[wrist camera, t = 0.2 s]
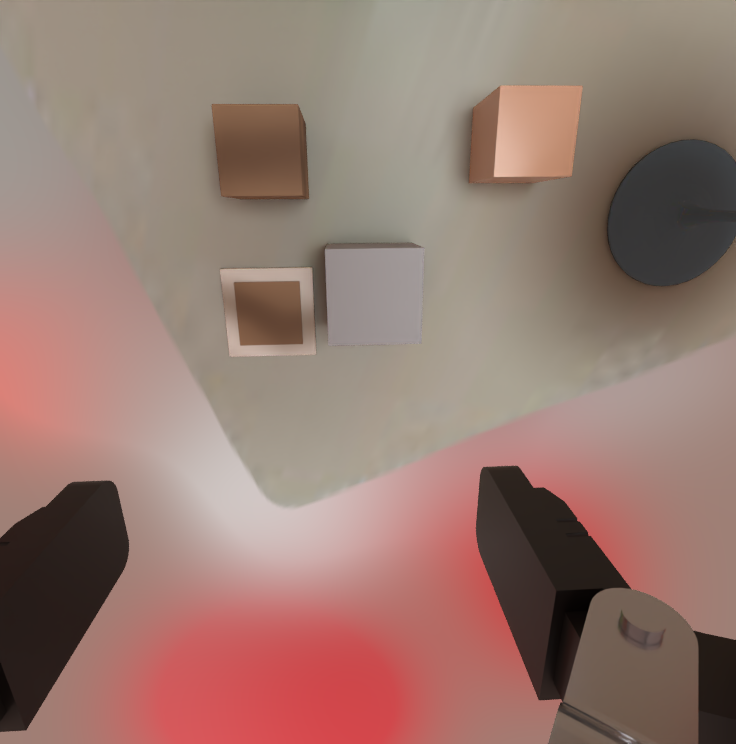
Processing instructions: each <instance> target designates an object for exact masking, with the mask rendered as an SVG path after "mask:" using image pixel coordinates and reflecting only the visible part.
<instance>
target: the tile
mask: <svg viewBox="0 0 736 744" xmlns="http://www.w3.org/2000/svg"><path fill="white" fill-rule="evenodd" d="M220 274H221V283H222V292H223V301H224V310H225V319H226V328H227V337H228V346H229V355H230V357H241V356H283V355H316V335H315V314H314V293H313V272H312V267H293V268H226V269H220Z"/></svg>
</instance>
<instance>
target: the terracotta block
mask: <svg viewBox="0 0 736 744" xmlns="http://www.w3.org/2000/svg"><path fill="white" fill-rule="evenodd" d="M582 88H583V86H499V87H498V88H497V89H496V90H494V91H493V92H492V93H491V94H490V95H488V96H487V97H486V98H485V99H483V100H482V101H481V102H480V103H479V104H477V105H476V106H475V107H474V108H473V120H472V138H471V155H470V173H469V183H536V182H542V181H548V180H554V179H559V178H565V177H571V176H572V169H573V160H574V152H575V144H576V136H577V128H578V120H579V112H580V104H581V96H582Z"/></svg>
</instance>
